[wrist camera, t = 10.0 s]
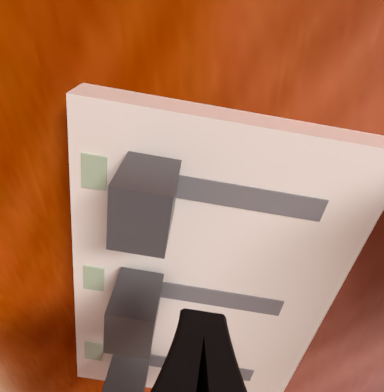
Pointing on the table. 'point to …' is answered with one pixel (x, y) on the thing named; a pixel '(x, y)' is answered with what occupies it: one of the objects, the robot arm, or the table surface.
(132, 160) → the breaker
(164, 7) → the table surface
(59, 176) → the table surface
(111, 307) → the middle breaker
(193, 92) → the table surface
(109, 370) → the block
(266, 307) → the breaker panel
